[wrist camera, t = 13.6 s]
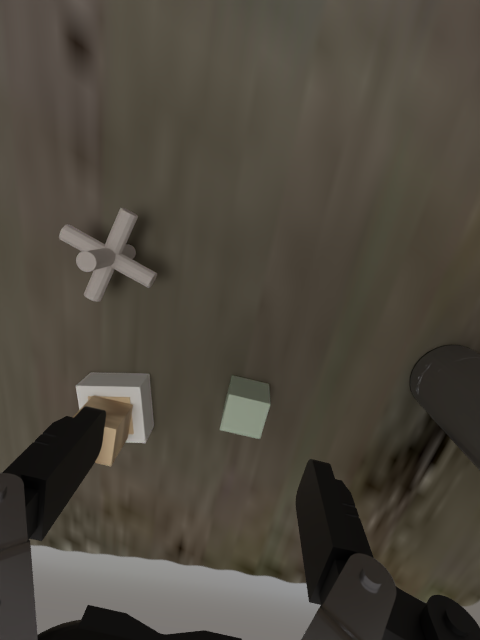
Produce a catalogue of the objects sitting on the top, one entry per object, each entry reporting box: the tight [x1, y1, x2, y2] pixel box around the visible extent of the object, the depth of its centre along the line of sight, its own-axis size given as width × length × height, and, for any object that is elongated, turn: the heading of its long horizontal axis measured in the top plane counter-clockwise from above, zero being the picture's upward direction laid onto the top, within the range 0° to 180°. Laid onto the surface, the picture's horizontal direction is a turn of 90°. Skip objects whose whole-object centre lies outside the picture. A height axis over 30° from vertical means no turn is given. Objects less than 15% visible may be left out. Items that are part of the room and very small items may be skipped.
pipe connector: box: [59, 207, 157, 301], centre depth 34 cm, size 10×10×10 cm
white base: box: [76, 372, 154, 443], centre depth 43 cm, size 8×8×4 cm
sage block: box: [220, 375, 271, 439], centre depth 41 cm, size 5×5×5 cm
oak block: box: [73, 396, 133, 466], centre depth 38 cm, size 5×5×5 cm
